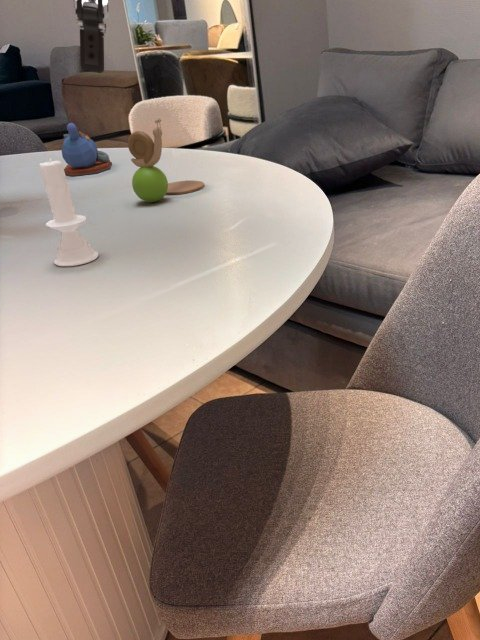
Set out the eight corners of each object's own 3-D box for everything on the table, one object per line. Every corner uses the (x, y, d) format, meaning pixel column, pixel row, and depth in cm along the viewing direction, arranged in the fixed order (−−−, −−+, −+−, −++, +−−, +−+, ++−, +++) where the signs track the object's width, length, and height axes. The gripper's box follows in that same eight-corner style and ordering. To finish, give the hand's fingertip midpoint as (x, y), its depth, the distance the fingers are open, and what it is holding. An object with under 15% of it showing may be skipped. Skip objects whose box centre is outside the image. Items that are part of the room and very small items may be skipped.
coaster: (152, 196, 104) (152, 194, 103) (161, 185, 110) (160, 182, 110) (201, 192, 103) (200, 190, 103) (207, 181, 110) (206, 178, 110)
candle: (107, 256, 79) (81, 154, 72) (69, 269, 75) (38, 164, 69) (83, 249, 82) (57, 151, 76) (46, 262, 79) (15, 160, 72)
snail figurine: (165, 206, 97) (149, 122, 91) (129, 206, 99) (111, 123, 93) (182, 197, 102) (168, 115, 95) (147, 196, 104) (131, 117, 97)
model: (108, 172, 124) (96, 120, 119) (60, 178, 123) (46, 126, 118) (113, 160, 134) (102, 113, 129) (69, 166, 133) (56, 118, 128)
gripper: (55, -99, 69) (61, 68, 76) (42, -139, 57) (51, 65, 63) (127, -85, 71) (127, 77, 78) (129, -121, 59) (129, 75, 65)
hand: (93, 71), depth 71 cm, fingers open, 8 cm apart
